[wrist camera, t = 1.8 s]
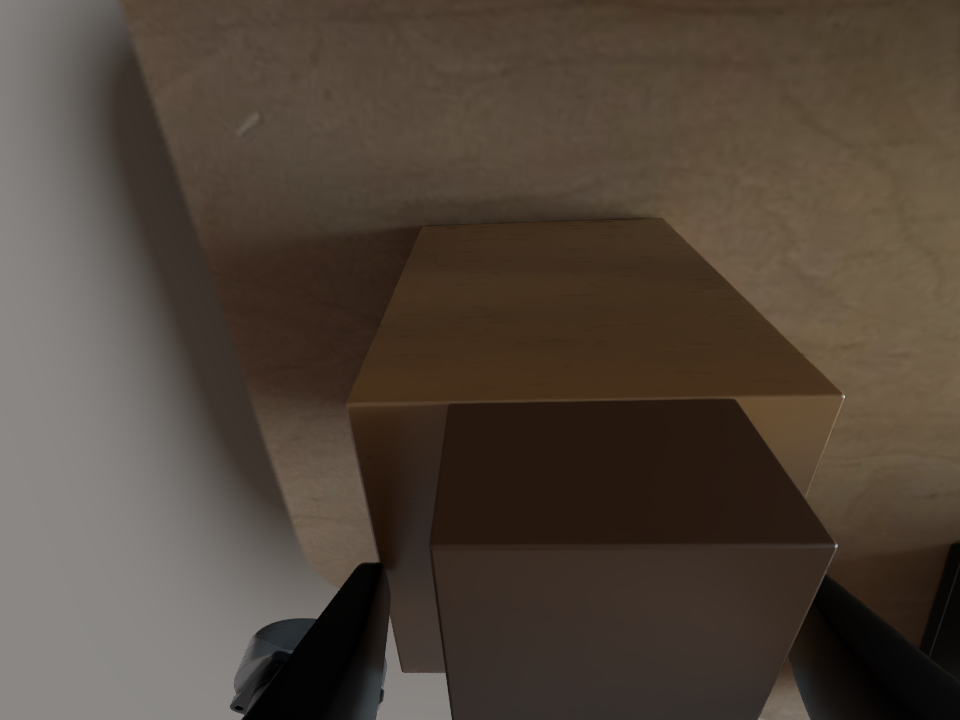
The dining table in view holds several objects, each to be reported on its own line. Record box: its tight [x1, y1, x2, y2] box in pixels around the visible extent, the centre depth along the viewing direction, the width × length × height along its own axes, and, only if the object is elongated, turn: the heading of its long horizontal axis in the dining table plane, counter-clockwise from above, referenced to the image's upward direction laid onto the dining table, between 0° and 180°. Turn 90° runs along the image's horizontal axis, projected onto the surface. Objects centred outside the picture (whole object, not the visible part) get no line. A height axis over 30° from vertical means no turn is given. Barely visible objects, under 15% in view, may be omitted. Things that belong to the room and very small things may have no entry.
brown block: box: [429, 399, 837, 720], centre depth 8 cm, size 7×4×2 cm, turn 2°
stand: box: [345, 218, 845, 673], centre depth 13 cm, size 7×7×9 cm
